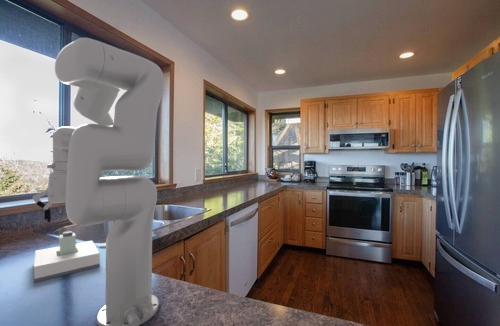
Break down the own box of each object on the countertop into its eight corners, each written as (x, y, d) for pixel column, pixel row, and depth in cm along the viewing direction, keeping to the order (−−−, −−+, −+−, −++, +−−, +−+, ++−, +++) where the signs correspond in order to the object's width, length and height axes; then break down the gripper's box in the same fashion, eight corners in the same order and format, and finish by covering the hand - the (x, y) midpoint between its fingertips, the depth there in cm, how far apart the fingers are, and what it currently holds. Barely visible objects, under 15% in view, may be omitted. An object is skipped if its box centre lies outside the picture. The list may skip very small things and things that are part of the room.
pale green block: (75, 262, 79) (75, 232, 79) (60, 265, 76) (60, 234, 76) (74, 258, 82) (74, 229, 82) (59, 261, 79) (59, 232, 79)
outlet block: (99, 266, 78) (99, 252, 78) (34, 282, 68) (34, 266, 68) (92, 252, 90) (92, 240, 90) (35, 263, 80) (35, 250, 80)
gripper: (31, 168, 70) (32, 225, 70) (100, 167, 81) (100, 216, 81) (32, 167, 76) (32, 221, 76) (96, 167, 87) (96, 213, 87)
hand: (67, 219), depth 78 cm, fingers open, 9 cm apart
